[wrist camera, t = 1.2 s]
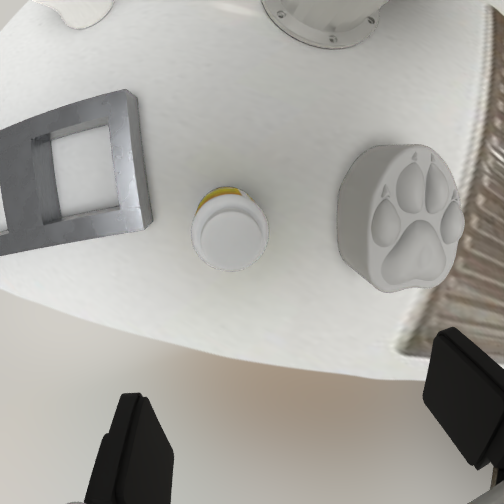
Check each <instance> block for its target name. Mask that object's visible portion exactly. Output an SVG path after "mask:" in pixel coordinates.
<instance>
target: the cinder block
mask: <svg viewBox="0 0 504 504" xmlns="http://www.w3.org/2000/svg"><path fill="white" fill-rule="evenodd" d="M108 124H109V132H110V141H111V150H112V158H113V166H114V173H115V180H116V187H117V193H118V199H119V205H120V206H116V207H111V208H106V209H100V210H95V211H90V212H85V213H81V214H76V215H71V216H66V217H61V212H60V207H59V201H58V195H57V189H56V182H55V175H54V167H53V159H52V150H51V140H54V139H57V138H61V137H64V136H67V135H71V134H74V133H78V132H81V131H85V130H89V129H92V128H96V127H100V126H104V125H108ZM0 186H1V193H2V200H3V206H4V211H5V217H6V222H7V227H8V230H6V231H3V232H0V256H3V255H8V254H13V253H18V252H23V251H28V250H33V249H38V248H43V247H49V246H54V245H59V244H65V243H70V242H76V241H81V240H87V239H93V238H99V237H104V236H110V235H116V234H122V233H128V232H135V231H141V230H144V229H146V228H147V227H148V226H149V225H150V224H151V223H152V222H153V218H152V212H151V206H150V199H149V193H148V186H147V179H146V172H145V165H144V157H143V149H142V141H141V132H140V122H139V112H138V101H137V97H136V96H134V95H133V94H132V93H131V92H129V91H128V90H127V89H123V90H119V91H115V92H111V93H107V94H103V95H100V96H96V97H92V98H89V99H86V100H82V101H79V102H76V103H72V104H69V105H66V106H63V107H60V108H57V109H54V110H51V111H48V112H46V113H43V114H40V115H37V116H35V117H32V118H29V119H27V120H24V121H22V122H19V123H17V124H14V125H12V126H10V127H7V128H5V129H3V130H0Z"/></svg>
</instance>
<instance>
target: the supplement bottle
mask: <svg viewBox="0 0 504 504" xmlns="http://www.w3.org/2000/svg"><path fill="white" fill-rule="evenodd" d="M191 239H192V244H193V247H194V249H195V251H196V253H197V254H198V256H199V257H200V258H201V259H202V260H203V261H204V262H205V263H206V264H208V265H209V266H211V267H213V268H215V269H218V270H222V271H229V272H234V271H239V270H242V269H245V268H247V267H248V266H250V265H252V264H253V263H254V262H256V261H257V260H258V259H259V258H260V256H261V255H262V254H263V252H264V250H265V248H266V246H267V243H268V239H269V226H268V222H267V219H266V217H265V214H264V213H263V211H262V210H261V208H260V207H259V206H258V205H257V204H256V203H255V202H254V201H253V199H252V198H251V197H250V196H249V195H247V194H246V193H245V192H243V191H242V190H240V189H237V188H234V187H220V188H217V189H214V190H212V191H211V192H209V193H208V194H207V195H206V196H205V197H204V198H203V199H202V201H201V202H200V204H199V206H198V209H197V211H196V214H195V216H194V219H193V222H192V227H191Z"/></svg>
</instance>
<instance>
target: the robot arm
mask: <svg viewBox="0 0 504 504" xmlns="http://www.w3.org/2000/svg"><path fill="white" fill-rule="evenodd" d="M388 1H389V0H262V3H263V5H264V8H265V10H266V12H267V13H268V15H269V16H270V18H271V19H272V20H273V21H274V22H275V23H276V24H277V25H278V26H279V27H280V28H281V29H282V30H284V31H285V32H286V33H287V34H289V35H290V36H292V37H294V38H296V39H298V40H299V41H302V42H304V43H307V44H310V45H313V46H317V47H321V48H330V49H339V48H347V47H351V46H354V45H356V44H358V43H360V42H362V41H363V40H365V39H366V38H367V37H369V36H370V35H371V34H372V32H373V31H374V30H375V28H376V26H377V24H378V20H379V15H380V14H379V8H380V7H381V6H383V5H384V4H385V3H386V2H388ZM278 16H281V17H282V18H280V17H278ZM330 40H331V41H332V42H333V43H332V42H331V41H330ZM423 400H424V403H425V405H426V406H427V407H428V409H429V410H430V411H431V413H432V414H433V415H434V417H435V418H436V419H437V421H438V422H439V423H440V425H441V426H442V427H443V429H444V430H445V432H446V433H447V434H448V436H449V437H450V438H451V440H452V441H453V443H454V444H455V445H456V447H457V448H458V450H459V451H460V452H461V454H462V455H463V456H464V458H465V459H466V461H467V462H468V463H469V464H470V465H472V466H473V465H474V466H475V468H476V469H477V470H479V469H481V468H483V467H484V466H486V465H487V464H489V463H490V462H491V463H492V464H493V466H494V467H493V473H492V480H491V486H490V490H489V491H487V492H486V493H484V494H482V495H481V496H479V497H478V498H476V499H474V500H473V501H471V502H469V503H468V504H504V369H503V368H502V367H500V366H499V365H498V364H497V363H496V362H495V361H494V360H493V359H491V358H490V357H489V356H488V355H487V354H486V353H485V352H483V351H482V350H481V349H480V348H479V347H478V346H476V345H475V344H474V343H473V342H472V341H471V340H469V339H468V338H467V337H466V336H465V335H464V334H462V333H461V332H460V331H459V330H458V329H456V328H455V327H450V328H448V329H445V330H442V331H440V332H438V334H437V336H436V337H435V338H434V341H433V347H432V352H431V358H430V363H429V368H428V373H427V378H426V382H425V387H424V391H423ZM173 465H174V453H173V449H172V447H171V445H170V443H169V441H168V440H167V437H166V435H165V433H164V431H163V429H162V427H161V425H160V423H159V421H158V419H157V417H156V415H155V412H154V410H153V408H152V406H151V404H150V401H149V399H148V398H147V397H143V396H142V395H141V393H124V394H122V395H121V397H120V400H119V403H118V405H117V409H116V412H115V415H114V418H113V421H112V424H111V427H110V430H109V433H107V434H105V435H104V437H103V439H102V442H101V445H100V448H99V451H98V454H97V458H96V461H95V465H94V468H93V471H92V475H91V478H90V481H89V485H88V489H87V492H86V496H85V500H84V503H82V502H71V503H67V504H170V502H171V488H172V476H173Z"/></svg>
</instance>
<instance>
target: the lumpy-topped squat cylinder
mask: <svg viewBox="0 0 504 504" xmlns="http://www.w3.org/2000/svg"><path fill="white" fill-rule="evenodd" d="M464 224H465V221H464V215H463V213H462V210H461V203H460V197H459V194H458V190H457V187H456V184H455V181H454V178H453V176H452V173H451V171H450V169H449V168H448V166H447V164H446V163H445V162H444V160H443V159H442V158H441V157H440V156H439V155H438V154H437V153H436V152H435V151H434V150H433V149H431V148H429V147H427V146H424V145H419V144H414V145H381V146H375V147H372V148H370V149H369V150H367V151H366V152H364V153H363V154H362V155H361V156H359V157H358V158H357V159H356V161H355V162H354V163H353V165H352V166H351V168H350V169H349V171H348V173H347V175H346V177H345V178H344V180H343V182H342V184H341V187H340V190H339V196H338V207H337V238H338V248H339V252H340V255H341V257H342V258H343V260H344V261H345V262H346V263H347V264H348V265H349V266H350V267H351V268H352V269H354V270H355V271H356V272H357V273H358V274H360V275H361V276H362V277H363V278H364V279H366V280H367V281H368V282H369V283H370V284H372V285H373V286H374V287H375V288H376V289H378V290H379V291H382V292H385V293H392V292H397V291H400V290H403V289H407V288H413V287H417V288H432V287H435V286H437V285H439V284H440V283H441V282H442V281H443V280H444V279H445V277H446V276H447V274H448V273H449V271H450V269H451V267H452V265H453V263H454V259H455V255H456V250H457V245H458V240H459V239H460V237H461V236H462V233H463V230H464Z"/></svg>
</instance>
